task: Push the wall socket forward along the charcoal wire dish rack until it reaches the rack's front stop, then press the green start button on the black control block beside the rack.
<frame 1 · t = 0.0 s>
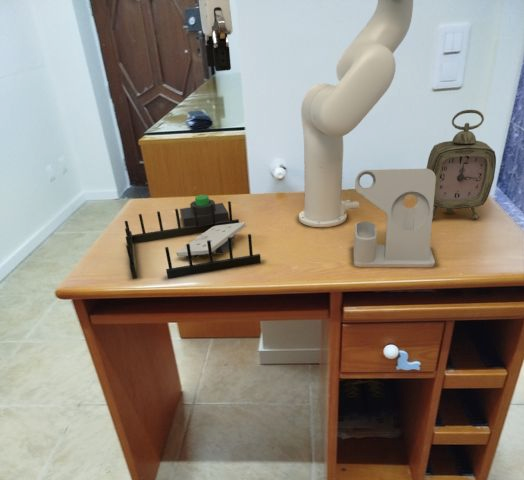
hand: (218, 68, 102), 37 cm above the table, tool pointing down, fingers open, 9 cm apart
tabletop clock: (450, 216, 124), on the table
dish rack: (196, 251, 115), on the table
wall socket: (211, 250, 116), on the table
start button: (202, 200, 128), point 6 cm above the table, slide at 0.1 cm
control block: (204, 221, 131), on the table
phone holder: (391, 257, 107), on the table
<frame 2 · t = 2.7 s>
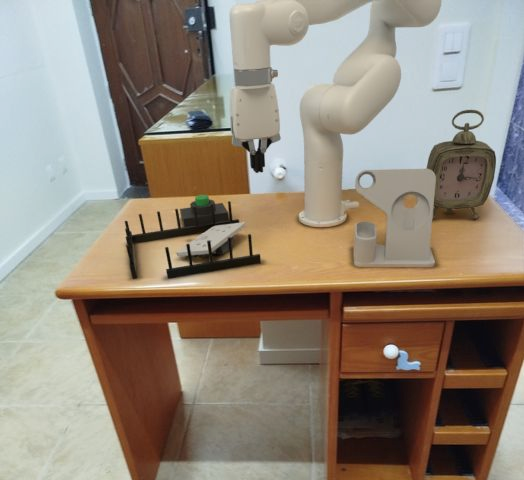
hand: (258, 170, 108), 17 cm above the table, tool pointing down, fingers closed
nothing on the table moved.
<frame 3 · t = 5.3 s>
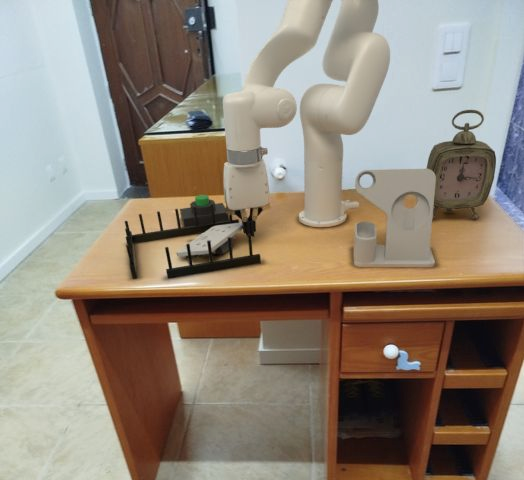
hand: (249, 235, 116), 2 cm above the table, tool pointing down, fingers closed
wall socket: (210, 250, 116), on the table, touching gripper
everything else where it was.
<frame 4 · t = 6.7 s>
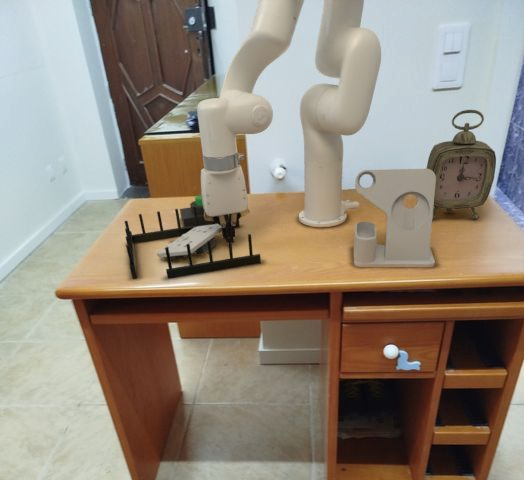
hand: (229, 240, 116), 1 cm above the table, tool pointing down, fingers closed
wall socket: (192, 250, 116), on the table, touching gripper
everything else where it was.
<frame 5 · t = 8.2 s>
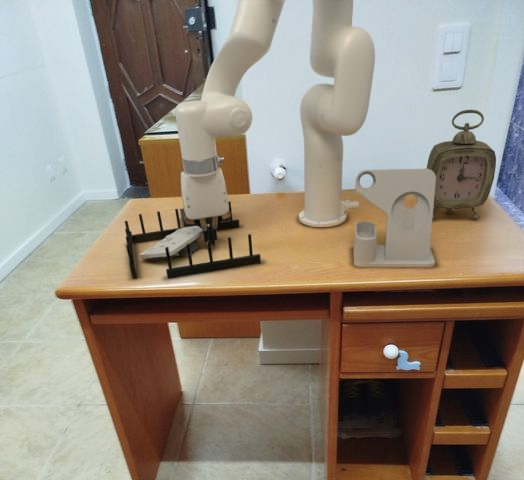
hand: (211, 243, 115), 1 cm above the table, tool pointing down, fingers closed
wall socket: (176, 252, 116), on the table, touching dish rack, gripper
everything else where it was.
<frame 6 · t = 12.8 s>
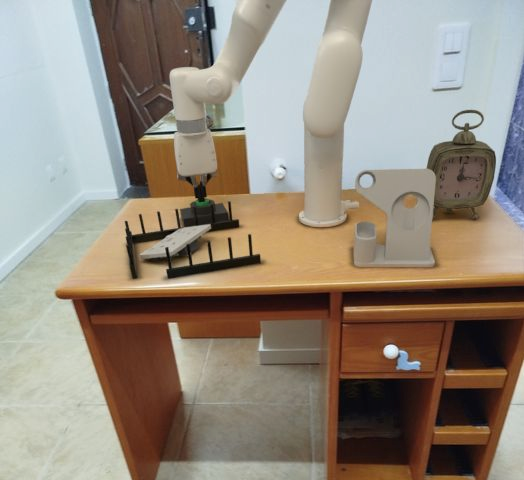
hand: (201, 200, 128), 6 cm above the table, tool pointing down, fingers closed
wall socket: (176, 252, 116), on the table
start button: (202, 204, 128), point 5 cm above the table, slide at -0.8 cm, touching gripper
everything else where it was.
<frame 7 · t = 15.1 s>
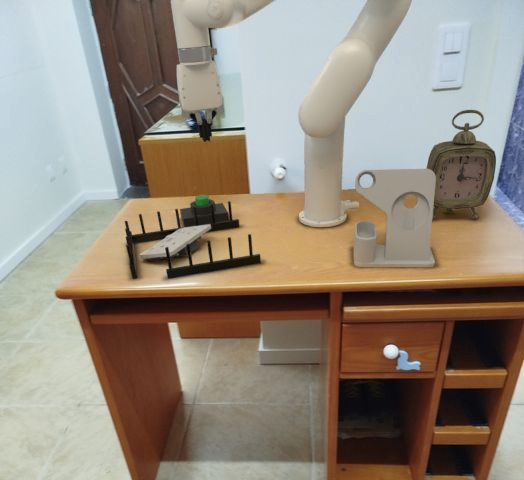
hand: (206, 140, 122), 20 cm above the table, tool pointing down, fingers closed
start button: (202, 200, 128), point 6 cm above the table, slide at 0.1 cm
everything else where it was.
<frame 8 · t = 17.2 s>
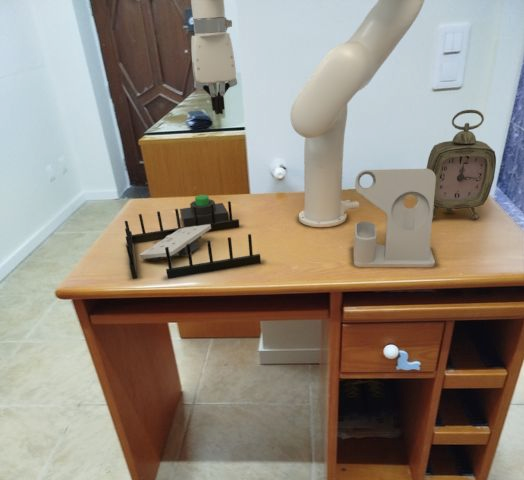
hand: (218, 113, 123), 25 cm above the table, tool pointing down, fingers closed
nothing on the table moved.
at the end: wall socket inside the target area (2.3 cm from its centre), on the table; start button pushed in 1.3 cm at the most during the clip, back to where it started at the end; start button slide at 0.1 cm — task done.
